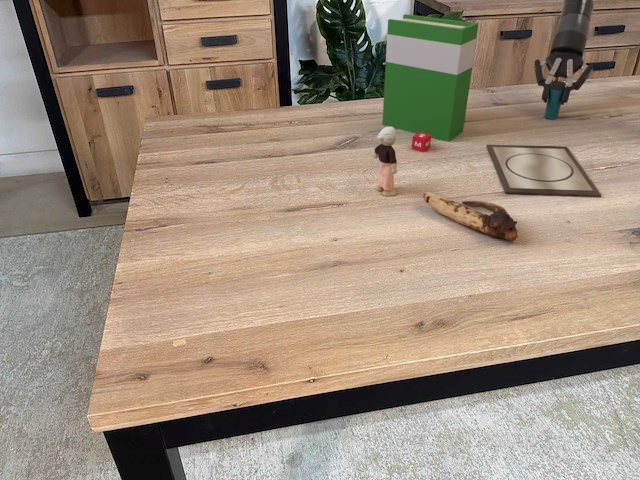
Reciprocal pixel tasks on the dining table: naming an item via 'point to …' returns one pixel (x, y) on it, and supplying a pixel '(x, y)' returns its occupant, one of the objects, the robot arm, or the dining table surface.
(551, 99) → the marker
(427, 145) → the dice
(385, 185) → the grandmother figurine
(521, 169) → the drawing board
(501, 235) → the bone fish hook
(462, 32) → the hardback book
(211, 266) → the dining table surface
